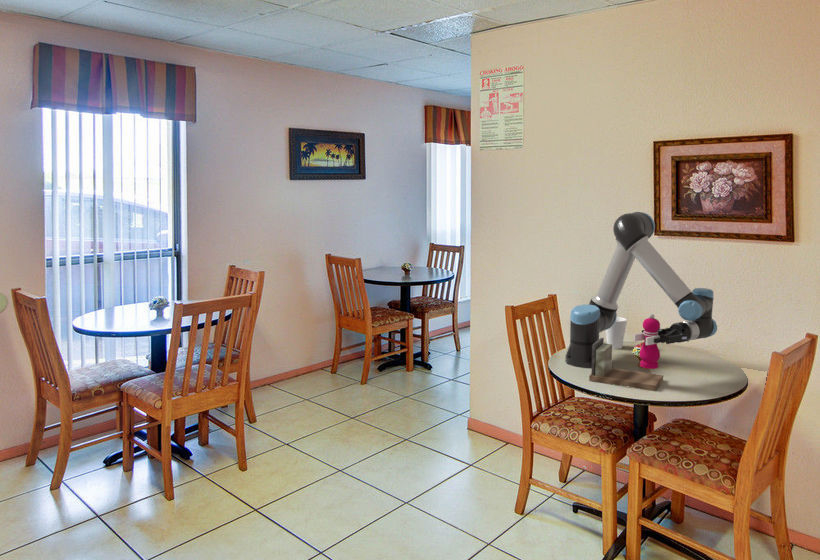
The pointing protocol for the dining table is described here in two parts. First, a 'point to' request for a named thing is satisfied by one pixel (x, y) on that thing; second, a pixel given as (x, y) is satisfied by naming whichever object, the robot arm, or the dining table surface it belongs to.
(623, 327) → the foam cup
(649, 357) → the pepper mill
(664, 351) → the dining table surface
